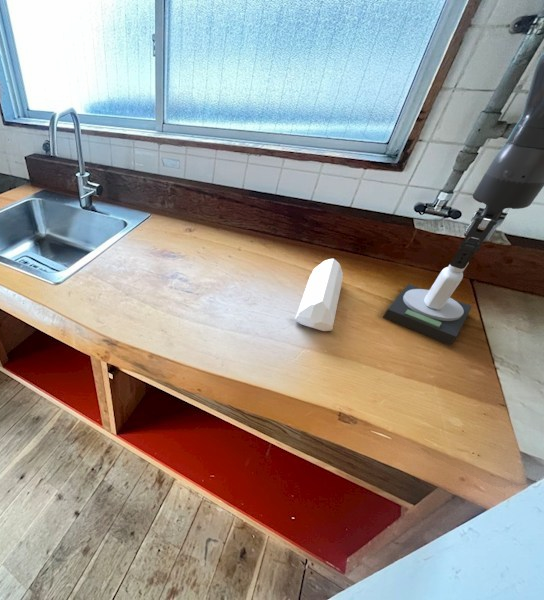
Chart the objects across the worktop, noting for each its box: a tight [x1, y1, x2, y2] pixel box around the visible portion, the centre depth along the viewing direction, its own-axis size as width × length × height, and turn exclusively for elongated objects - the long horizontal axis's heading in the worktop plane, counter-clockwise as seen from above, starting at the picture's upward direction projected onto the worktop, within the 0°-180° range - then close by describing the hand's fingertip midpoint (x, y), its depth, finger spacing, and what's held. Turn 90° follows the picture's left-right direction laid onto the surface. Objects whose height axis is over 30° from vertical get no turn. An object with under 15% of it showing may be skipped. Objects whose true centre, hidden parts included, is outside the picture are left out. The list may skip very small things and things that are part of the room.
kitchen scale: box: [382, 283, 473, 346], centre depth 70 cm, size 12×14×3 cm
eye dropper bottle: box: [424, 261, 470, 310], centre depth 66 cm, size 4×6×12 cm
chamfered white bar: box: [294, 257, 344, 332], centre depth 74 cm, size 7×7×24 cm
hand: (461, 258), depth 63 cm, fingers open, 8 cm apart
